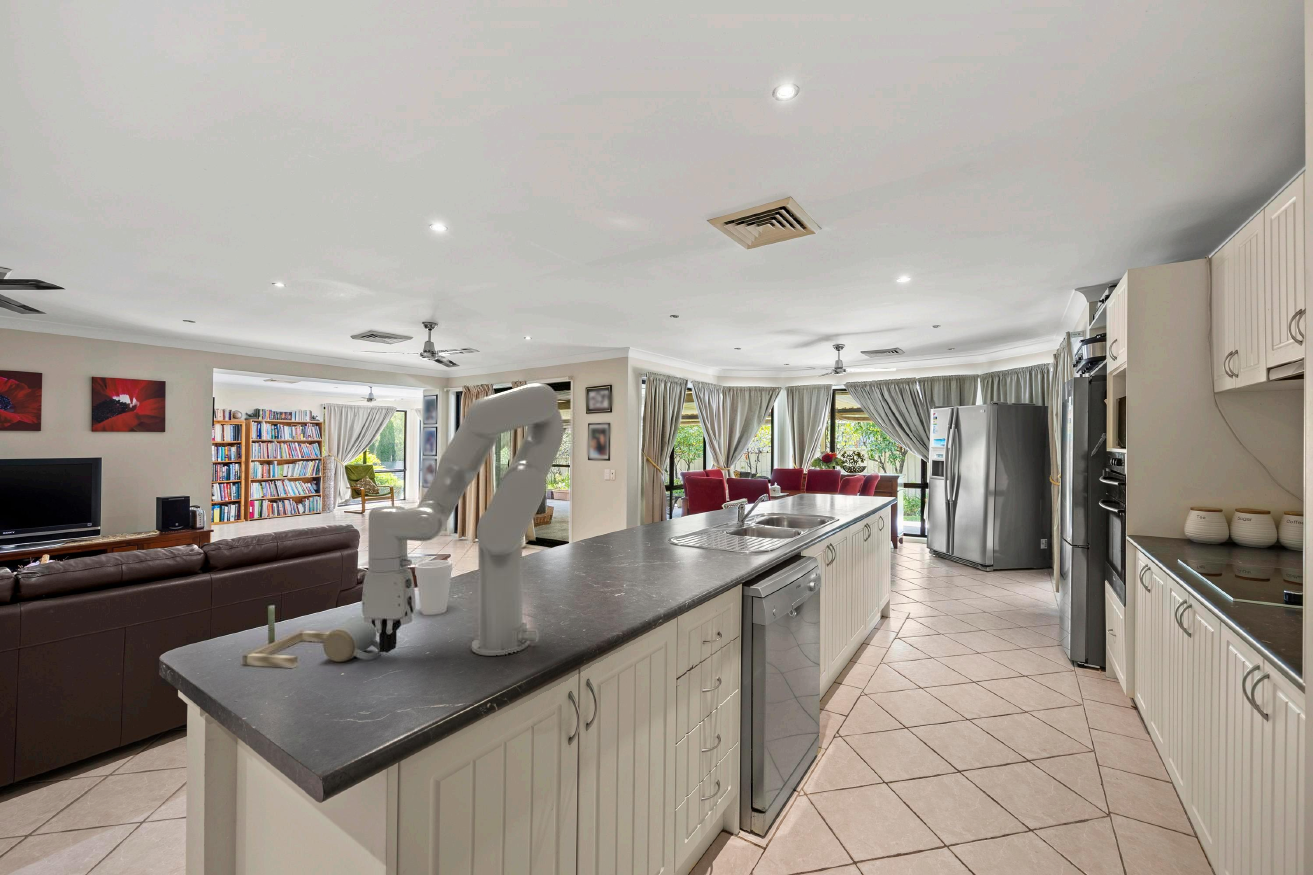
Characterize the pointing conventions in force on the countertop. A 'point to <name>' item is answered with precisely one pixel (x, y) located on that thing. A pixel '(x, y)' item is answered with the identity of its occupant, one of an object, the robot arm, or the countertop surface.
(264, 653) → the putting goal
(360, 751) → the countertop surface
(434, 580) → the foam cup
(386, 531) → the robot arm
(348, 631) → the ceramic mug
